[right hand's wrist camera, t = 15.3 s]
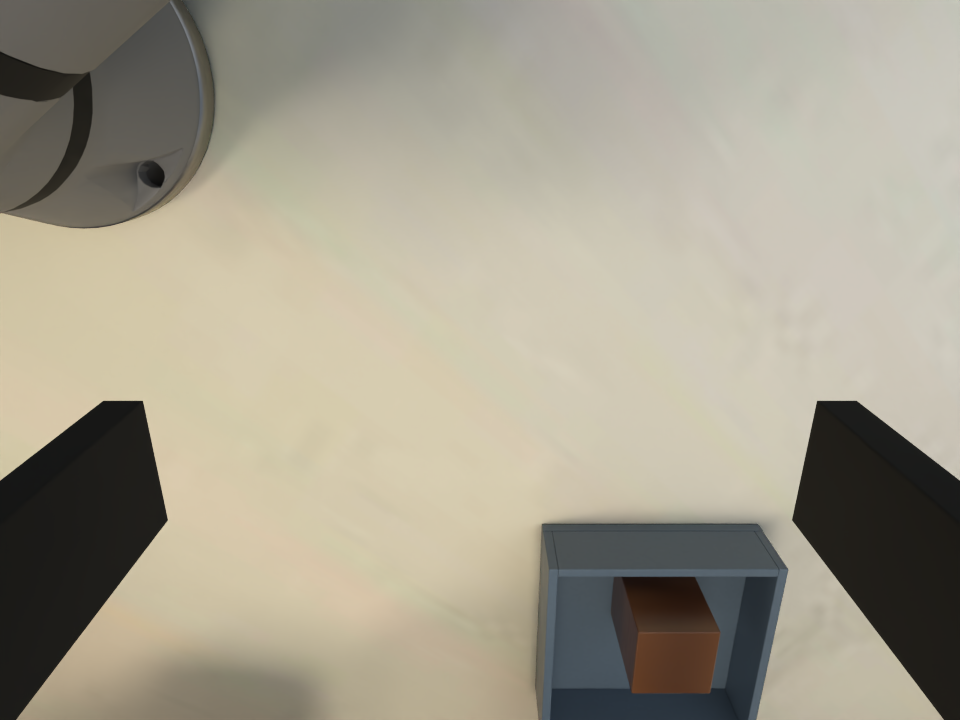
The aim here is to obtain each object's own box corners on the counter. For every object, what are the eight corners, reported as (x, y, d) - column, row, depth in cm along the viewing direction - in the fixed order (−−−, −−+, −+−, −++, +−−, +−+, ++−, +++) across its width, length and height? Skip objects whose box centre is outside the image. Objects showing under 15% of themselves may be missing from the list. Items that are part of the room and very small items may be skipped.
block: (610, 612, 47) (631, 694, 40) (615, 556, 45) (638, 632, 39) (678, 612, 47) (710, 693, 40) (686, 556, 45) (721, 632, 39)
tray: (531, 774, 54) (541, 895, 46) (542, 524, 45) (556, 618, 37) (711, 773, 54) (753, 895, 46) (758, 523, 45) (821, 618, 37)
